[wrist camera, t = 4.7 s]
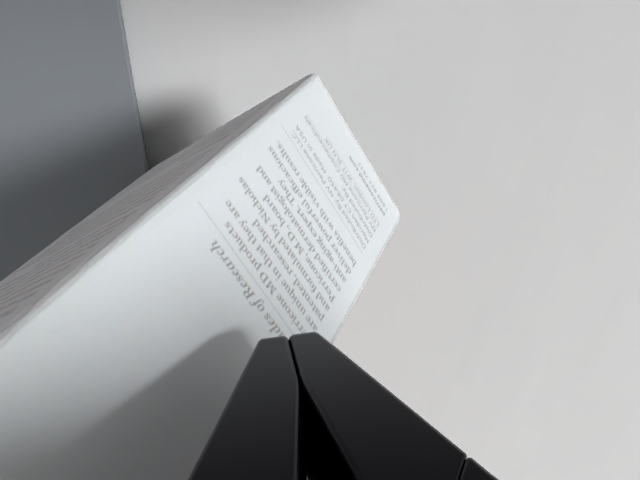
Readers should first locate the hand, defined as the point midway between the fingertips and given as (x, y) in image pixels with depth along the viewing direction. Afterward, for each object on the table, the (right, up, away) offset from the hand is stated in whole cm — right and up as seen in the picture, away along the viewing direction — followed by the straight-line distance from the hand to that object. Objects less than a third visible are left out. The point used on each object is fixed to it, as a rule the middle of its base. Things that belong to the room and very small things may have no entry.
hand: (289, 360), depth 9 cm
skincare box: (-1, +3, +7) cm, 8 cm away
